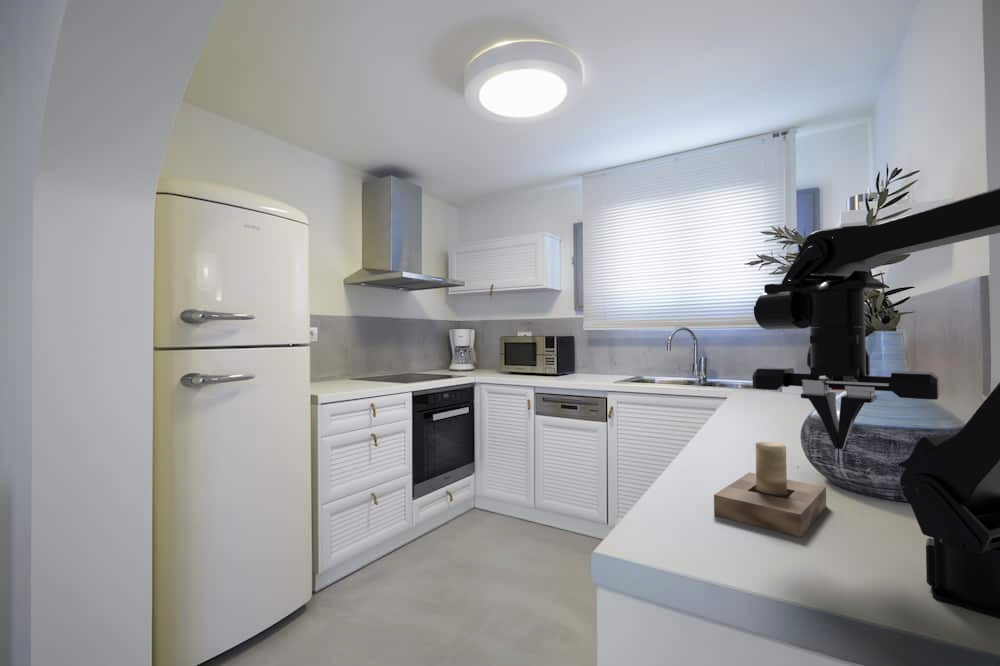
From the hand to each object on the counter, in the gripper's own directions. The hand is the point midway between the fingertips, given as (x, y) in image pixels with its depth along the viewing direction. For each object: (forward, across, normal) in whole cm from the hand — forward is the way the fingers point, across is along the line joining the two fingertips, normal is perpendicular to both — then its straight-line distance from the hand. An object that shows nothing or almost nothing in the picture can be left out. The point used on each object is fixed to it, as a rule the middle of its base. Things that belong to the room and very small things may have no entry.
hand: (839, 448), depth 59 cm
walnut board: (+12, +10, -6) cm, 16 cm away
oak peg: (+12, +10, -6) cm, 16 cm away
